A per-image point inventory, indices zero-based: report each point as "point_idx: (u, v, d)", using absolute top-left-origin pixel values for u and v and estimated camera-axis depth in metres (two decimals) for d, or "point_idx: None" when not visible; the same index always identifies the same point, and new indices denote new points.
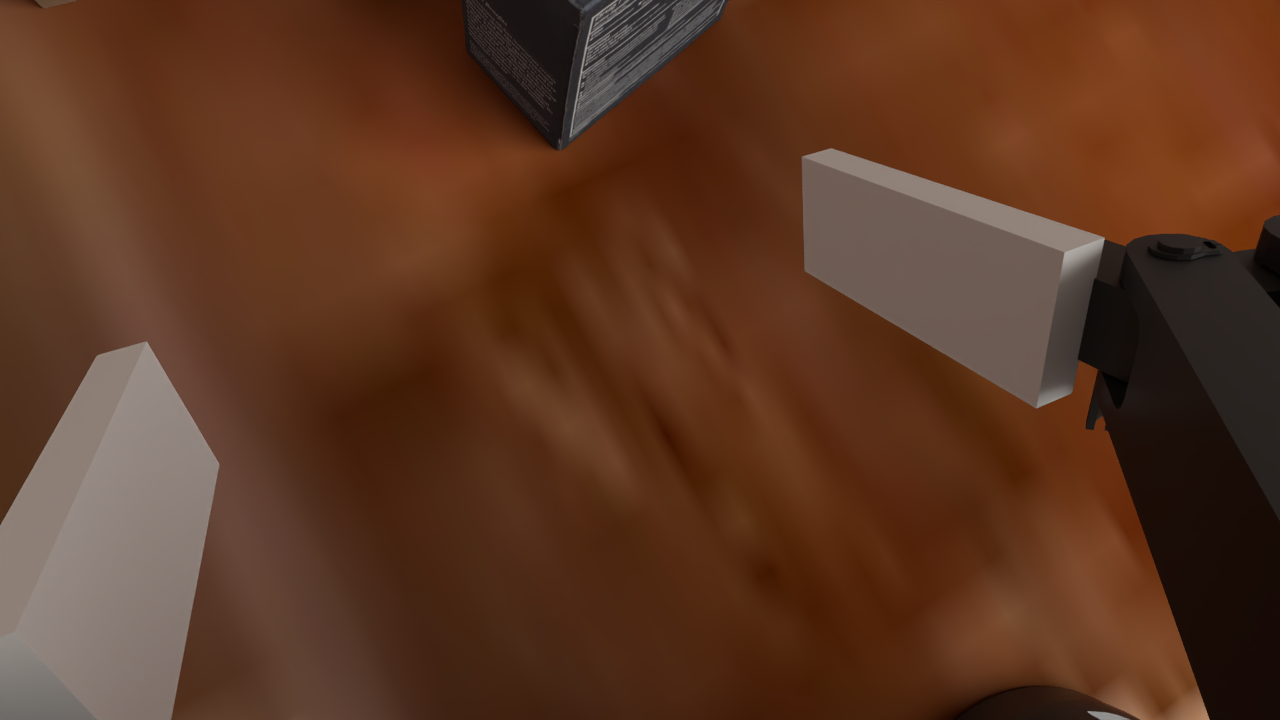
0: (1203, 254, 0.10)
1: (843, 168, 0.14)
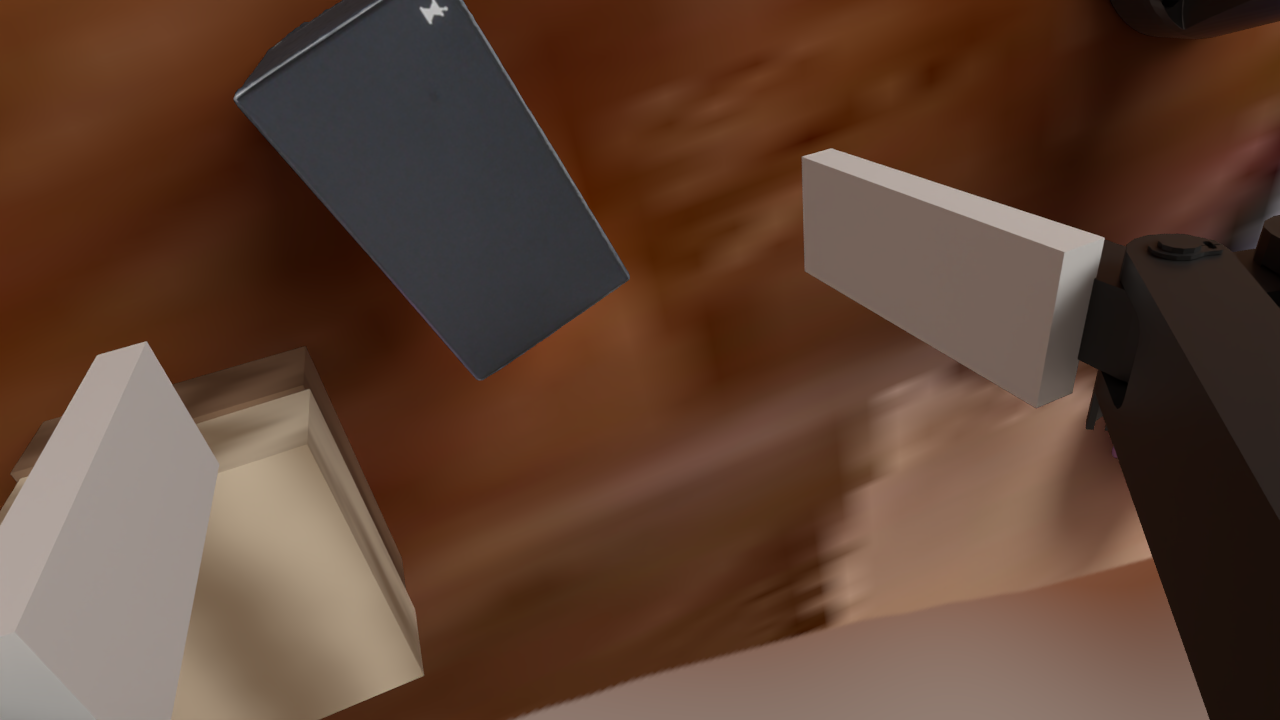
0: (1203, 254, 0.10)
1: (843, 168, 0.14)
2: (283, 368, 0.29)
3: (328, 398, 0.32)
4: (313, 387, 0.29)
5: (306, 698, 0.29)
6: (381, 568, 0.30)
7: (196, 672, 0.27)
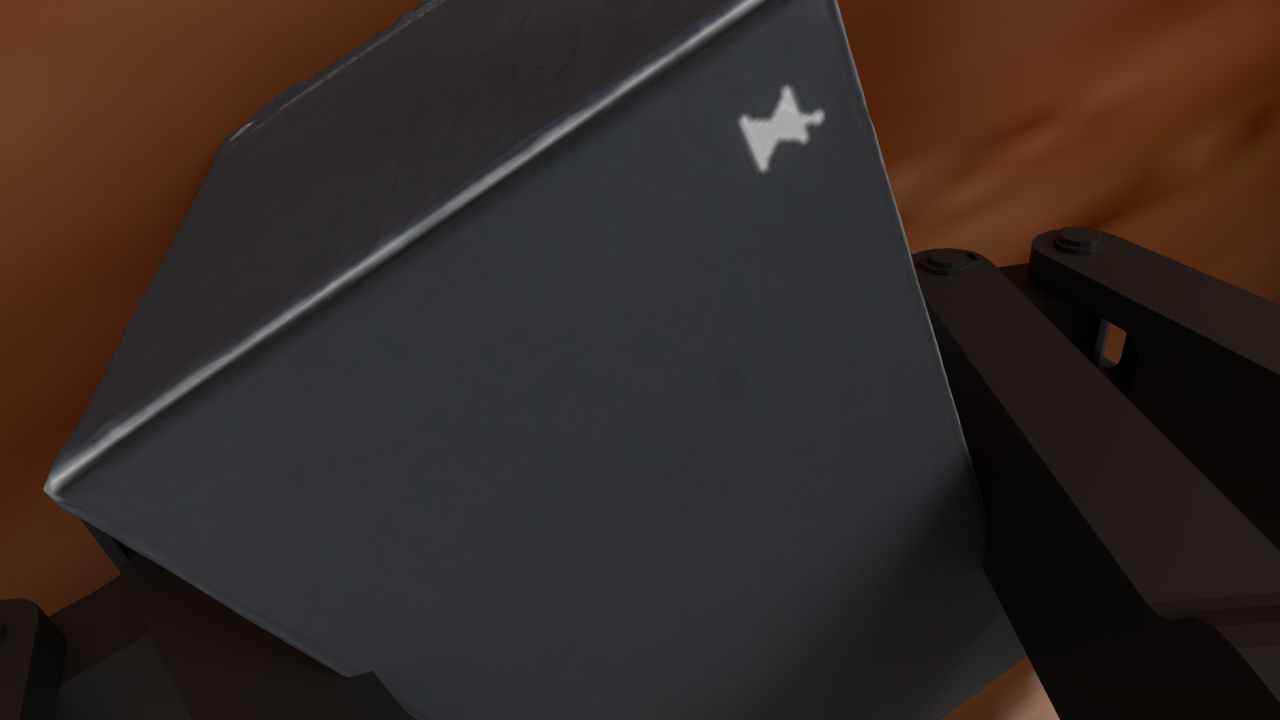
0: (969, 265, 0.10)
1: None
2: None
3: None
4: None
5: None
6: None
7: None
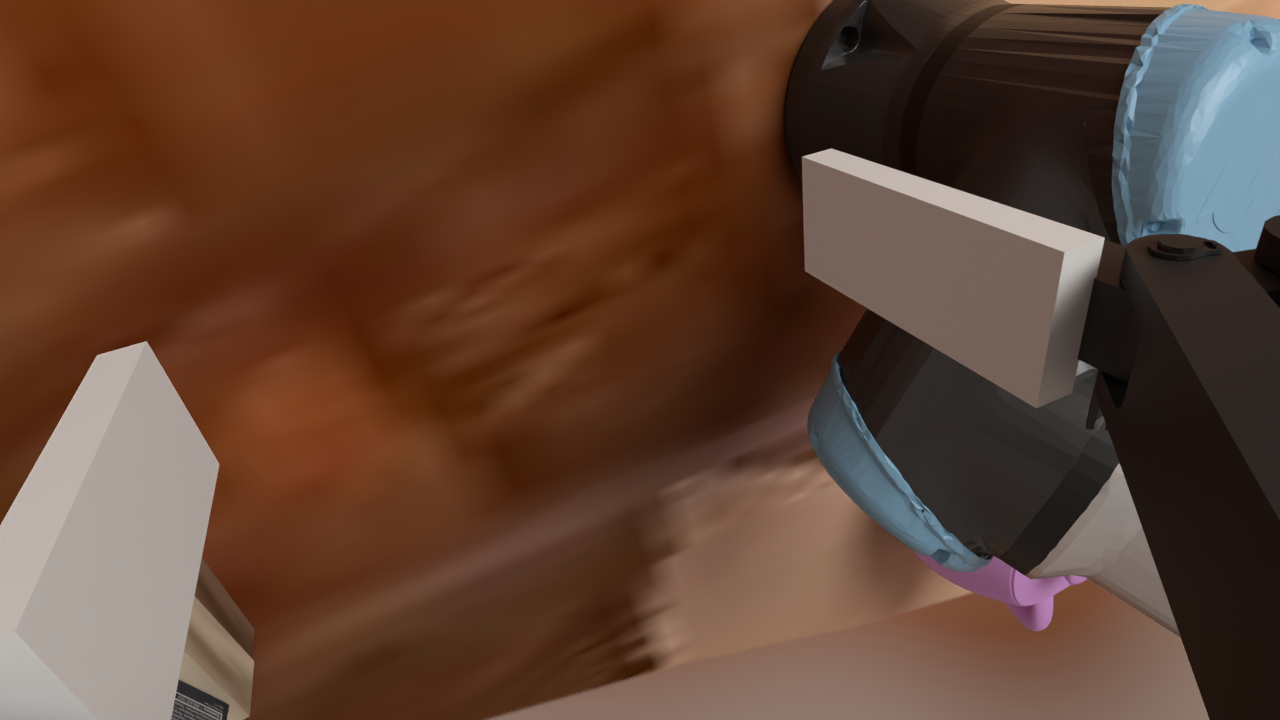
0: (1204, 254, 0.10)
1: (842, 169, 0.14)
2: None
3: None
4: None
5: None
6: (201, 640, 0.39)
7: None
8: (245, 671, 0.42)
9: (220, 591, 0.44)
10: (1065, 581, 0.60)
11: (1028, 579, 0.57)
